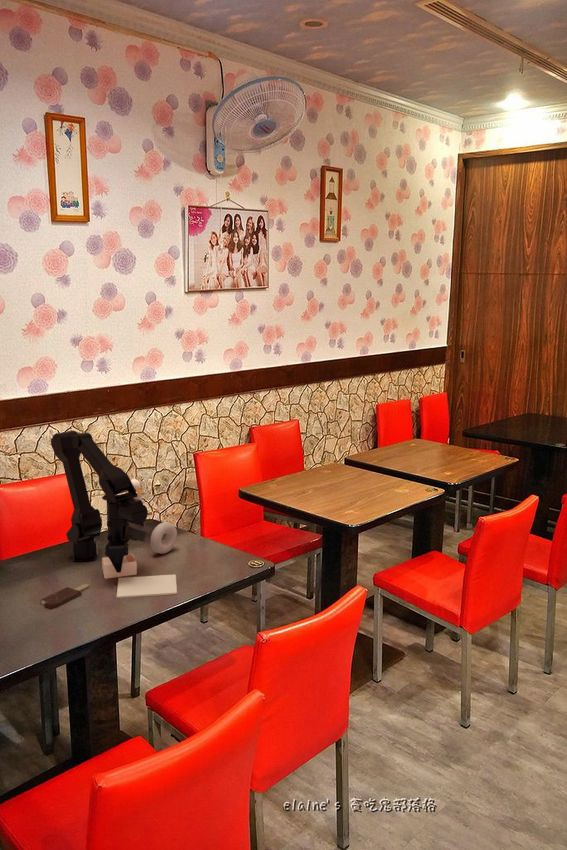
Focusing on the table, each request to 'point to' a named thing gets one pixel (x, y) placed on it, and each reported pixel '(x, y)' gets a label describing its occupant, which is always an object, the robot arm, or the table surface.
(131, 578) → the mat
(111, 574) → the card deck
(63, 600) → the ice cream bar
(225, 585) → the table surface
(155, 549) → the donut
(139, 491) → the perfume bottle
